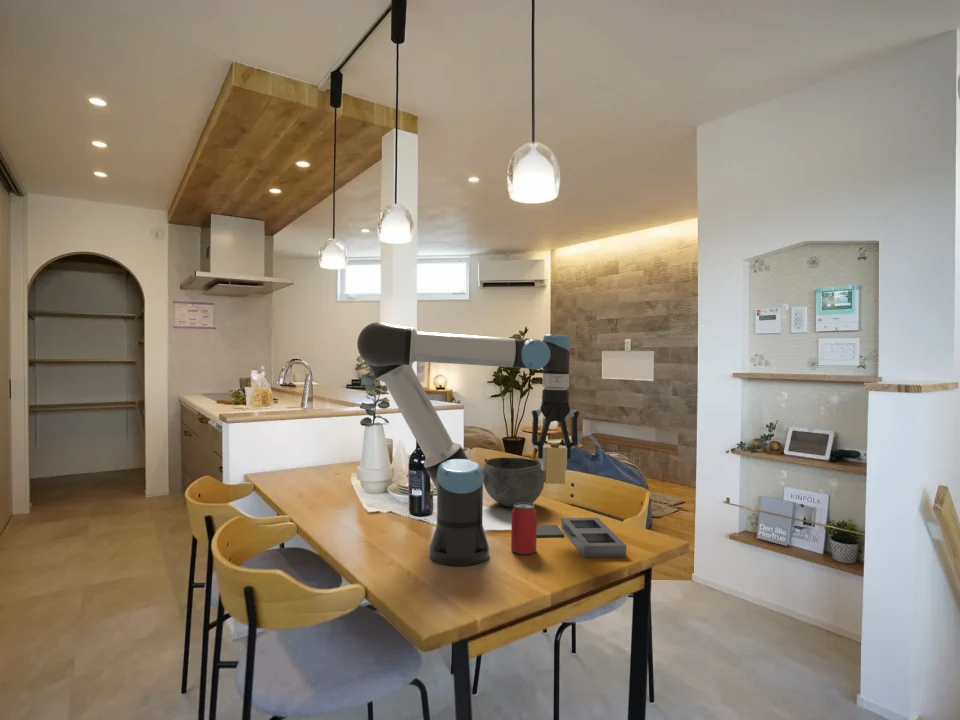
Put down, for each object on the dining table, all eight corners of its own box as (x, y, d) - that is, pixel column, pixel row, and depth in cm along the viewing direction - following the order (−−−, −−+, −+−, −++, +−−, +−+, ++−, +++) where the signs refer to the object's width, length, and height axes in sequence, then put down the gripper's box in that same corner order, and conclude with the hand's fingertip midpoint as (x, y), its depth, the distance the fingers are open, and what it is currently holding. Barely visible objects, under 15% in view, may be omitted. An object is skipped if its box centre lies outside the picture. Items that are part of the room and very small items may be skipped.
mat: (532, 537, 156) (532, 535, 156) (527, 527, 165) (527, 525, 165) (564, 536, 157) (564, 534, 157) (556, 526, 166) (556, 524, 166)
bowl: (483, 496, 199) (483, 455, 199) (541, 498, 198) (542, 456, 198) (480, 513, 178) (481, 467, 178) (546, 515, 177) (547, 468, 177)
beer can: (505, 550, 146) (506, 504, 145) (523, 544, 150) (524, 500, 150) (523, 557, 140) (524, 510, 140) (541, 551, 145) (542, 506, 145)
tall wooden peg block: (545, 483, 156) (546, 445, 155) (542, 479, 161) (543, 442, 161) (564, 483, 156) (565, 445, 156) (561, 479, 161) (561, 442, 161)
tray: (584, 558, 141) (584, 546, 141) (561, 528, 164) (561, 518, 164) (626, 557, 142) (626, 545, 142) (597, 527, 166) (597, 517, 165)
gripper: (525, 389, 154) (523, 472, 154) (590, 390, 155) (588, 473, 155) (521, 387, 161) (520, 466, 162) (584, 388, 162) (582, 467, 163)
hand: (553, 469), depth 158 cm, fingers closed on tall wooden peg block, 5 cm apart
